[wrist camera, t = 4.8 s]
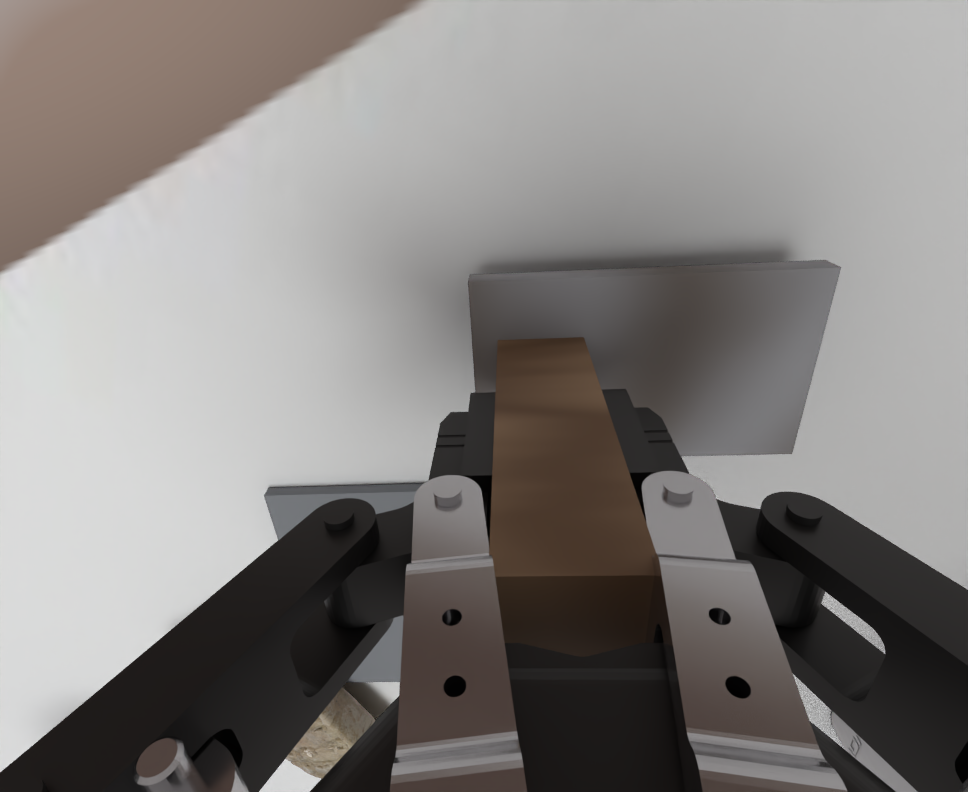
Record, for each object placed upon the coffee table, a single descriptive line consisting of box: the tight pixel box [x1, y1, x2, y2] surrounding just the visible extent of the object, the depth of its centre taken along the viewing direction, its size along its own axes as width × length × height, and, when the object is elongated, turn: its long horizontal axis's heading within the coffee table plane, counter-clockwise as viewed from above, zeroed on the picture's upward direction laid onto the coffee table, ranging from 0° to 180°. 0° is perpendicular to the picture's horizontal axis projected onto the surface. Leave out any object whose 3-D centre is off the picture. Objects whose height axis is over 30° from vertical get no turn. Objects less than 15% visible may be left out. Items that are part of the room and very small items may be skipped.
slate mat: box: [264, 483, 424, 682], centre depth 24 cm, size 14×12×1 cm
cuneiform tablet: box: [286, 687, 376, 778], centre depth 26 cm, size 6×4×12 cm
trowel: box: [468, 260, 841, 657], centre depth 12 cm, size 10×6×10 cm, turn 93°
